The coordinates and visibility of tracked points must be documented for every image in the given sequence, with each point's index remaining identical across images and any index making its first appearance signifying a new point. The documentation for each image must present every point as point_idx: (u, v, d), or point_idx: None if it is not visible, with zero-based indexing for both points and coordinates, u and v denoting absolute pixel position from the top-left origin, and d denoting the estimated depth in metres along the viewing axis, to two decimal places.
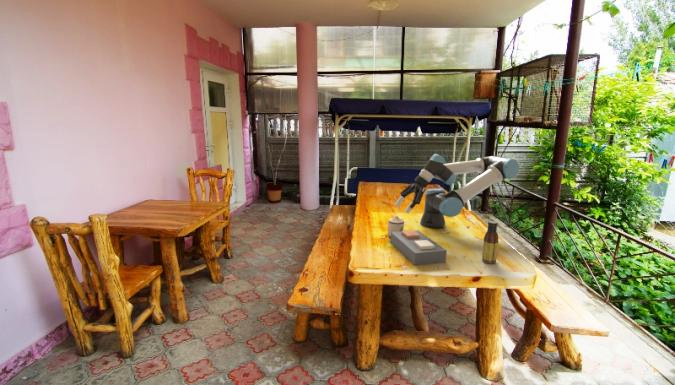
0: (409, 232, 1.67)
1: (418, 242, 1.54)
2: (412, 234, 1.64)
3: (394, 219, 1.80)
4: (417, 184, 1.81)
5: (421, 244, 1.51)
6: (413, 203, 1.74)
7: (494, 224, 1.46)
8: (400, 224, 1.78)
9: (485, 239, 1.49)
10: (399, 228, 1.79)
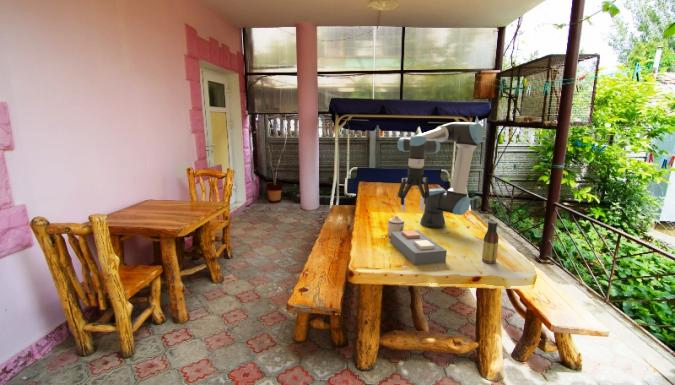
0: (409, 232, 1.67)
1: (418, 242, 1.54)
2: (412, 234, 1.64)
3: (394, 219, 1.80)
4: (416, 176, 1.59)
5: (421, 244, 1.51)
6: (425, 198, 1.63)
7: (494, 224, 1.46)
8: (400, 224, 1.78)
9: (485, 239, 1.49)
10: (399, 228, 1.79)
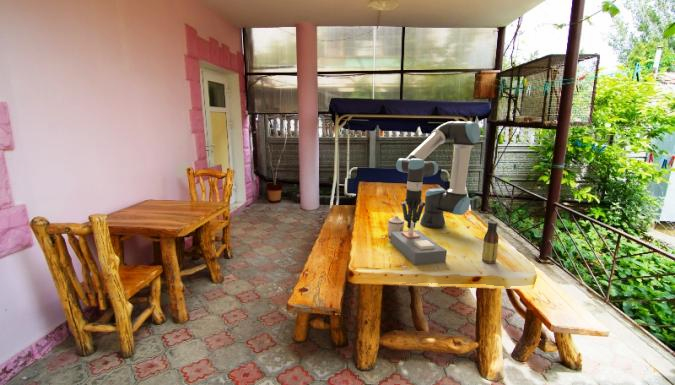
0: None
1: (418, 242, 1.54)
2: (412, 235, 1.64)
3: (394, 219, 1.80)
4: (414, 199, 1.61)
5: (421, 244, 1.51)
6: (415, 222, 1.65)
7: (494, 224, 1.46)
8: (400, 224, 1.78)
9: (485, 239, 1.49)
10: (399, 228, 1.79)
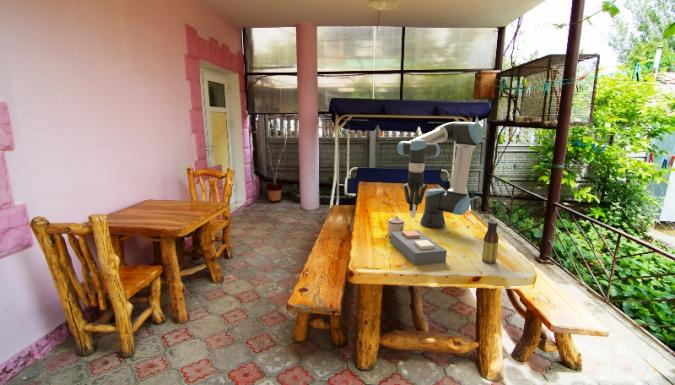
0: (409, 232, 1.67)
1: (418, 242, 1.54)
2: (412, 234, 1.64)
3: (394, 219, 1.80)
4: (416, 180, 1.58)
5: (421, 244, 1.51)
6: (417, 205, 1.62)
7: (494, 224, 1.46)
8: (400, 224, 1.78)
9: (485, 239, 1.49)
10: (399, 228, 1.79)
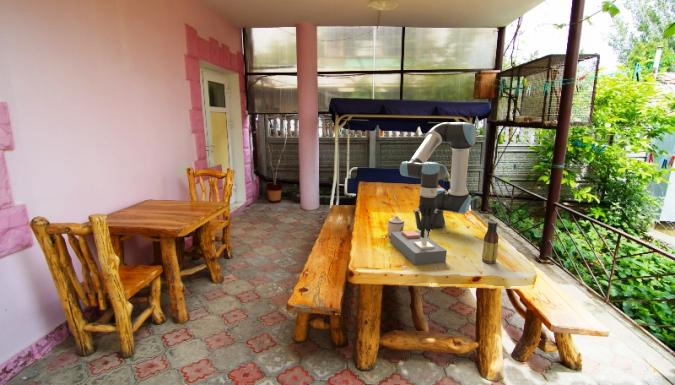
0: (409, 232, 1.67)
1: (418, 243, 1.54)
2: (412, 234, 1.64)
3: (394, 219, 1.80)
4: (428, 206, 1.48)
5: (421, 245, 1.51)
6: (428, 231, 1.52)
7: (494, 224, 1.46)
8: (400, 224, 1.78)
9: (485, 239, 1.49)
10: (399, 228, 1.79)
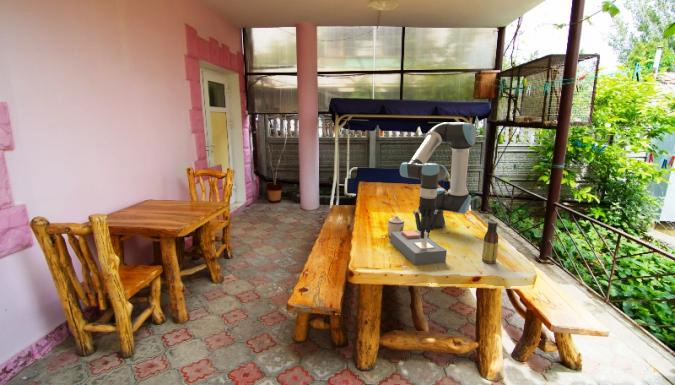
0: (409, 232, 1.67)
1: (418, 244, 1.54)
2: (412, 234, 1.64)
3: (394, 219, 1.80)
4: (428, 207, 1.48)
5: (421, 246, 1.52)
6: (428, 232, 1.52)
7: (494, 224, 1.46)
8: (400, 224, 1.78)
9: (485, 239, 1.49)
10: (399, 228, 1.79)
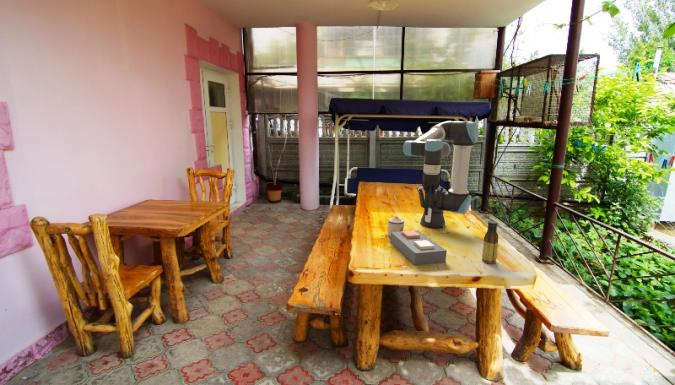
0: (409, 232, 1.67)
1: (418, 242, 1.54)
2: (412, 234, 1.64)
3: (394, 219, 1.80)
4: (432, 183, 1.48)
5: (421, 244, 1.51)
6: (432, 209, 1.52)
7: (494, 224, 1.46)
8: (400, 224, 1.78)
9: (485, 239, 1.49)
10: (399, 228, 1.79)
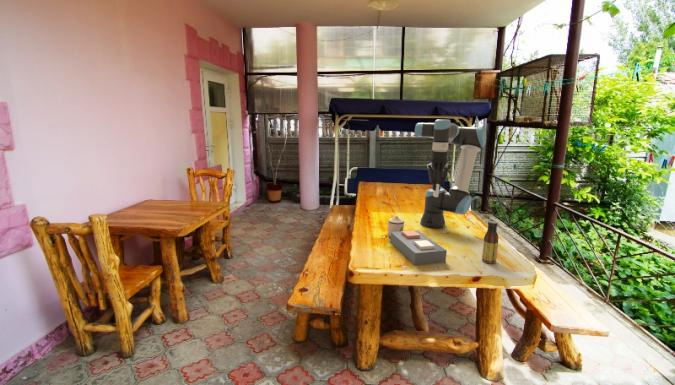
0: (409, 232, 1.67)
1: (418, 242, 1.54)
2: (412, 234, 1.64)
3: (394, 219, 1.80)
4: (440, 160, 1.61)
5: (421, 244, 1.51)
6: (440, 185, 1.65)
7: (494, 224, 1.46)
8: (400, 224, 1.78)
9: (485, 239, 1.49)
10: (399, 228, 1.79)
